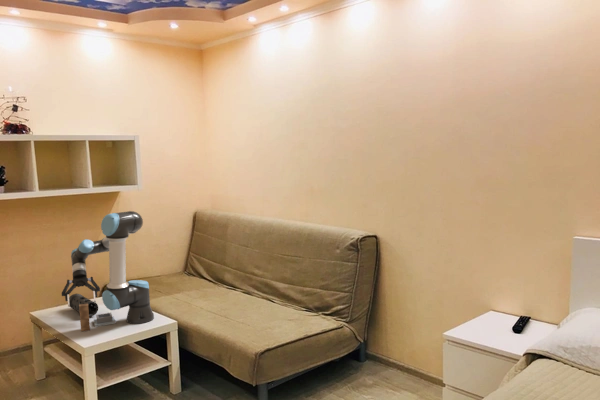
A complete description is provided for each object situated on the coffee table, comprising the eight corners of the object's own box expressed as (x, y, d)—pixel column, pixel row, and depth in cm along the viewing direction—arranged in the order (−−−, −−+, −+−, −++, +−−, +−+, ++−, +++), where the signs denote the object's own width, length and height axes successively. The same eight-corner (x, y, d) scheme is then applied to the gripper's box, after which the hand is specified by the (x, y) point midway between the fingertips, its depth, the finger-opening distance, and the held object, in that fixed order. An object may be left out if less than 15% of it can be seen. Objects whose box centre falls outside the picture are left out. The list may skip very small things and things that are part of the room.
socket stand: (113, 318, 293) (113, 311, 293) (115, 323, 283) (115, 316, 283) (93, 321, 288) (93, 314, 288) (95, 326, 278) (94, 319, 278)
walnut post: (89, 327, 277) (87, 303, 276) (89, 330, 273) (88, 305, 272) (80, 329, 275) (79, 304, 274) (81, 331, 271) (79, 306, 270)
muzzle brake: (83, 320, 291) (82, 303, 290) (67, 310, 311) (66, 294, 311) (99, 316, 298) (98, 299, 297) (82, 307, 318) (81, 291, 317)
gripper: (102, 273, 299) (105, 303, 287) (56, 278, 289) (58, 310, 277) (102, 266, 294) (105, 296, 282) (55, 271, 284) (57, 303, 271)
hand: (82, 303), depth 279 cm, fingers open, 13 cm apart
